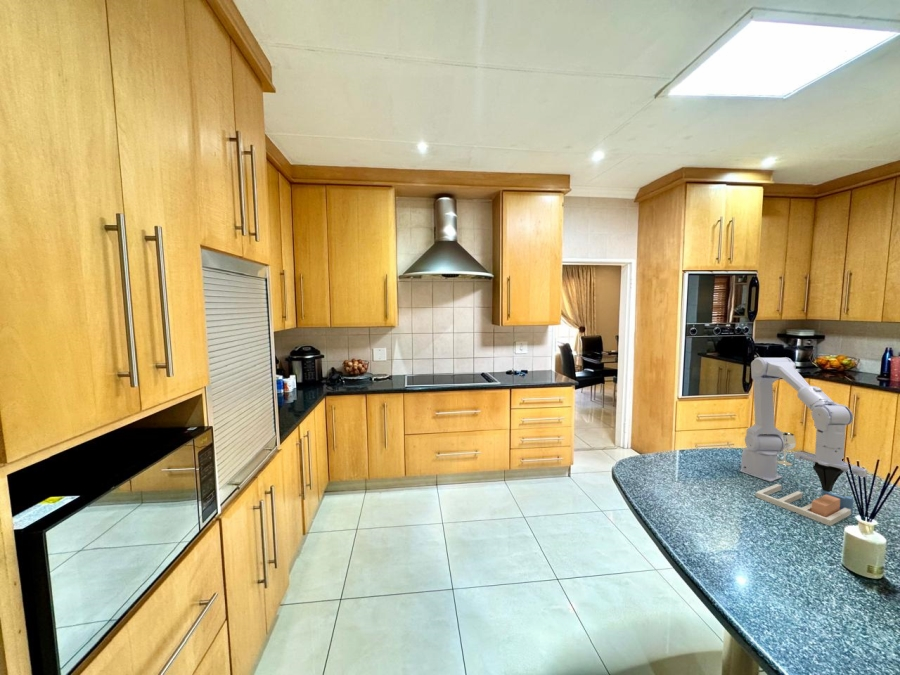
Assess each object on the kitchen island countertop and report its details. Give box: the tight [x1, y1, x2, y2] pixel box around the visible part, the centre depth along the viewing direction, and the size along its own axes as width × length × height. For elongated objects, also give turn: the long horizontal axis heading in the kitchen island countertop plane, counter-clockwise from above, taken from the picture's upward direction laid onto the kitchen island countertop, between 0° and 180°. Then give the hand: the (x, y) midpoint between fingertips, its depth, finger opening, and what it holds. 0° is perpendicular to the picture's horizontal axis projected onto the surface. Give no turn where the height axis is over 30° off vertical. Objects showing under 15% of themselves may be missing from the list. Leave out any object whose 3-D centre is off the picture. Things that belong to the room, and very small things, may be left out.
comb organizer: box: [755, 483, 852, 527], centre depth 109 cm, size 17×13×2 cm
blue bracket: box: [820, 488, 854, 515], centre depth 106 cm, size 6×2×5 cm, turn 24°
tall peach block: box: [811, 494, 840, 517], centre depth 104 cm, size 3×9×4 cm, turn 114°
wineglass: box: [777, 431, 797, 467], centre depth 138 cm, size 6×6×12 cm
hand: (827, 490), depth 103 cm, fingers closed
